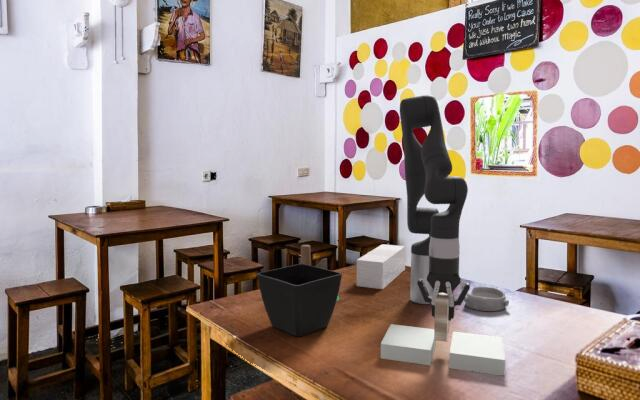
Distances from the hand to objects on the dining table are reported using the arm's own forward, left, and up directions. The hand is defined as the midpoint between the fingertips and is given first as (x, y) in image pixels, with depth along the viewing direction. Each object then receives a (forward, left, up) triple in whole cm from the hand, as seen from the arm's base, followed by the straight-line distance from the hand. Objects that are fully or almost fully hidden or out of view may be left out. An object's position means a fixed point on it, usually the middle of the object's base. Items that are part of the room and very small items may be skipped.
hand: (442, 318), depth 122 cm
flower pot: (-7, -43, -10) cm, 45 cm away
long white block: (-68, -30, -11) cm, 75 cm away
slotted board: (0, 0, -10) cm, 10 cm away
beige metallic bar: (0, 0, -4) cm, 4 cm away
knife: (-28, -40, -11) cm, 50 cm away
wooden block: (-38, -50, -10) cm, 64 cm away
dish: (-44, +11, -10) cm, 47 cm away
